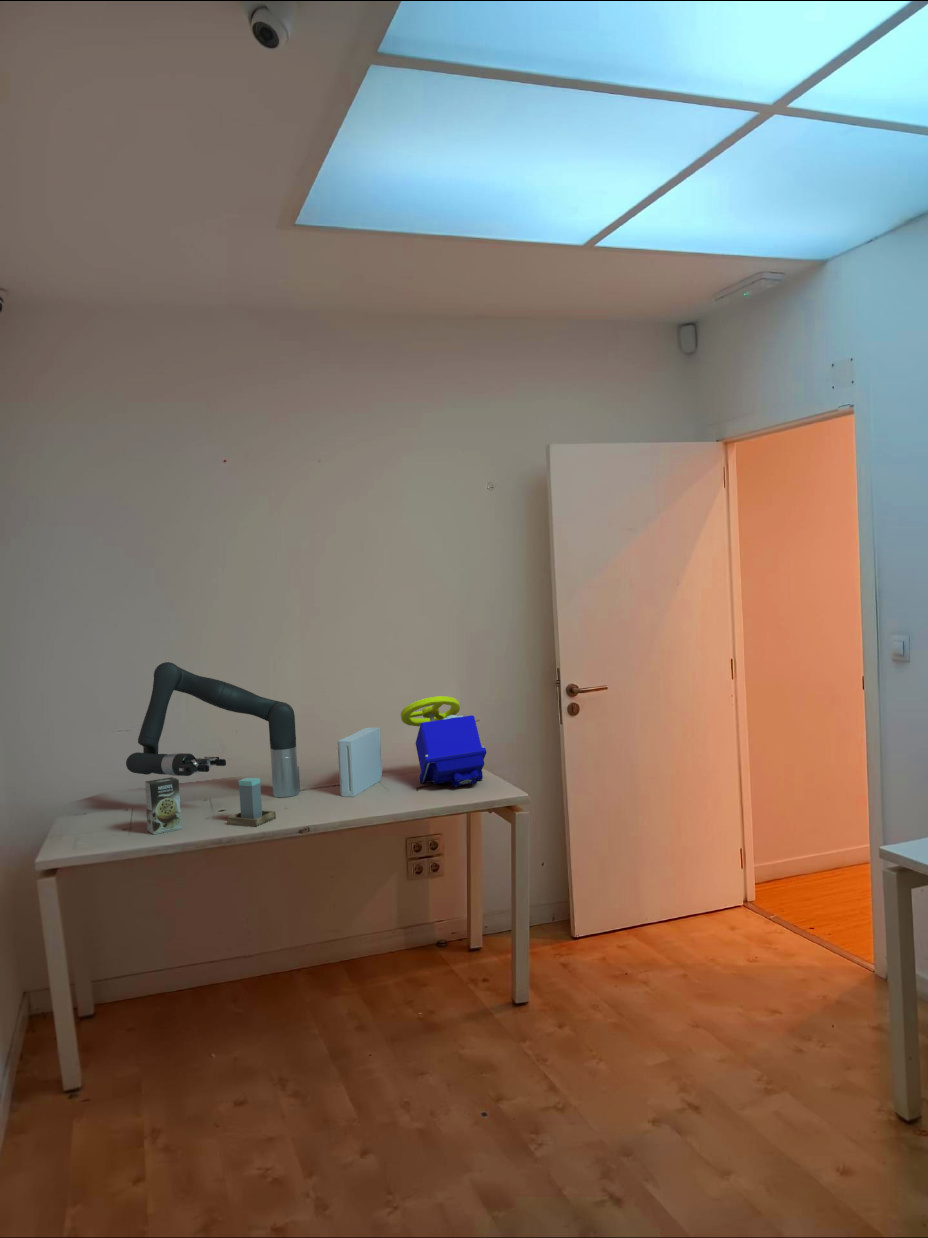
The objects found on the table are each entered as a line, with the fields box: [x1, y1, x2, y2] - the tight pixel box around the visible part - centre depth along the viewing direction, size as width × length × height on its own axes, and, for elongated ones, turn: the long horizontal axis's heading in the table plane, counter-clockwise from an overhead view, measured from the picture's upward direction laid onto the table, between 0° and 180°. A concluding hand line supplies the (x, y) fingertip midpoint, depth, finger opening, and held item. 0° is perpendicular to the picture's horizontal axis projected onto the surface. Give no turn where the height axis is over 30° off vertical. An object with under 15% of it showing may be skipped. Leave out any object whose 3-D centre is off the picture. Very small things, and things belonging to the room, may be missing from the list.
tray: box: [227, 810, 277, 828], centre depth 304 cm, size 10×11×2 cm
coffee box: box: [144, 776, 182, 835], centre depth 299 cm, size 9×6×16 cm
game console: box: [337, 727, 383, 798], centre depth 344 cm, size 6×27×20 cm, turn 163°
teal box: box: [238, 777, 263, 819], centre depth 304 cm, size 5×5×13 cm
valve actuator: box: [400, 695, 488, 789], centre depth 343 cm, size 26×27×30 cm
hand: (217, 765), depth 311 cm, fingers open, 8 cm apart
